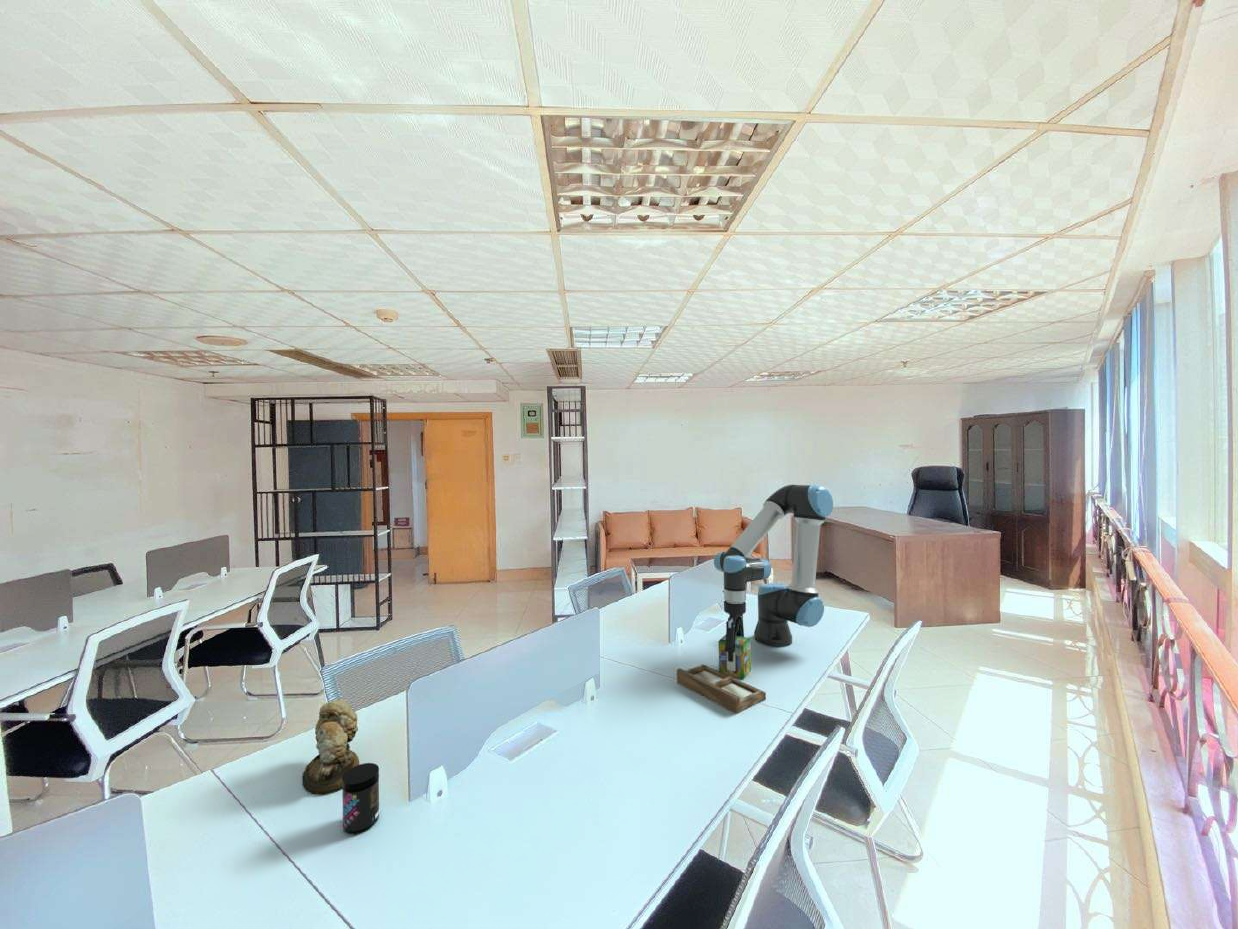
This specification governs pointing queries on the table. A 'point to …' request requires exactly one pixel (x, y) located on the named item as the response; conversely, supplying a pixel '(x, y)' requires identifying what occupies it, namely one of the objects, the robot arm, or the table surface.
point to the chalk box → (741, 657)
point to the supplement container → (360, 798)
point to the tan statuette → (332, 748)
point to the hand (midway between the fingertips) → (735, 664)
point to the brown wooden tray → (720, 688)
